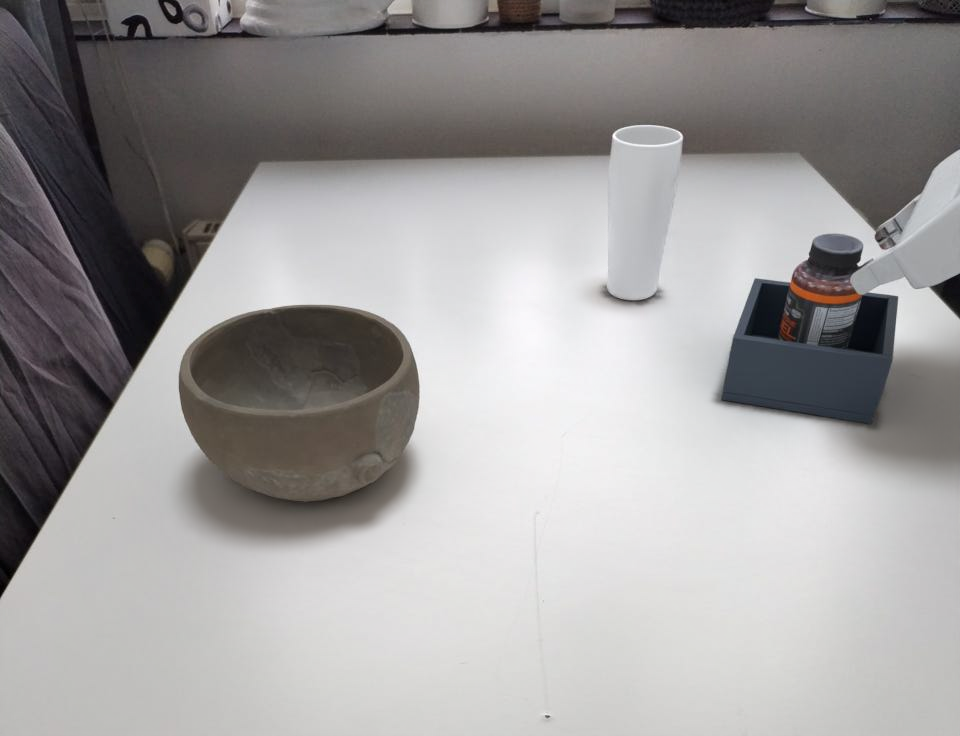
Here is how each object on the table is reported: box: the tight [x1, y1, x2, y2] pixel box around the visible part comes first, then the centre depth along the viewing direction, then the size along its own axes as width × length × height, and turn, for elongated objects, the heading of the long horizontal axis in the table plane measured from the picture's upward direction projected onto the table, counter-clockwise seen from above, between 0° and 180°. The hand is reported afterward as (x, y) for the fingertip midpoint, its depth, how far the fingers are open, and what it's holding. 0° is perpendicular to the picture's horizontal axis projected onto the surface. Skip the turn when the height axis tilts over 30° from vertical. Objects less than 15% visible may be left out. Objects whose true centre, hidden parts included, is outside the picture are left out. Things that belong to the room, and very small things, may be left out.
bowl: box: [178, 304, 421, 503], centre depth 69 cm, size 17×18×10 cm
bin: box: [720, 277, 899, 425], centre depth 79 cm, size 13×13×6 cm
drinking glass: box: [606, 124, 684, 301], centre depth 89 cm, size 7×7×15 cm
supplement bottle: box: [777, 233, 864, 350], centre depth 76 cm, size 6×6×11 cm
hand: (867, 261), depth 73 cm, fingers open, 8 cm apart
